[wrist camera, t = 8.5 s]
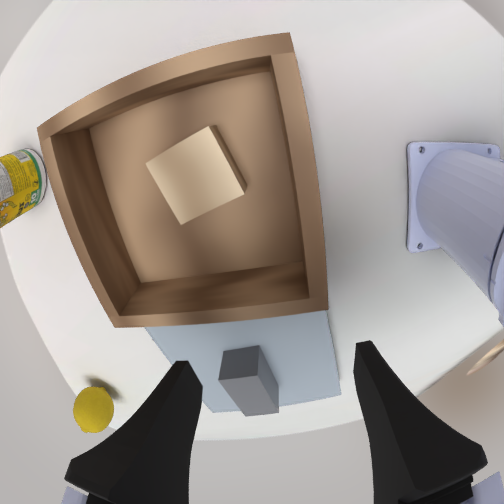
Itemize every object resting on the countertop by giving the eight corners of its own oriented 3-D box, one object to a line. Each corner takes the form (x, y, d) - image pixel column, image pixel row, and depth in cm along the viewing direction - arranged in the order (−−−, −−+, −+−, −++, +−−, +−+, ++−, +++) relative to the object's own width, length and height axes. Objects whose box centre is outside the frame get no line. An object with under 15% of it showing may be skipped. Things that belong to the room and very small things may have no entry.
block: (216, 125, 14) (208, 125, 12) (247, 185, 16) (244, 194, 14) (159, 157, 15) (145, 163, 13) (190, 212, 17) (180, 224, 15)
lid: (315, 268, 20) (328, 318, 15) (337, 375, 26) (345, 419, 21) (153, 306, 22) (129, 352, 17) (215, 395, 28) (208, 434, 23)
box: (283, 57, 13) (289, 32, 8) (316, 264, 19) (328, 309, 15) (84, 119, 15) (36, 127, 10) (140, 287, 21) (114, 327, 16)
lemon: (83, 370, 29) (59, 414, 22) (117, 384, 29) (97, 432, 22) (91, 390, 31) (72, 430, 24) (123, 403, 32) (106, 446, 25)
